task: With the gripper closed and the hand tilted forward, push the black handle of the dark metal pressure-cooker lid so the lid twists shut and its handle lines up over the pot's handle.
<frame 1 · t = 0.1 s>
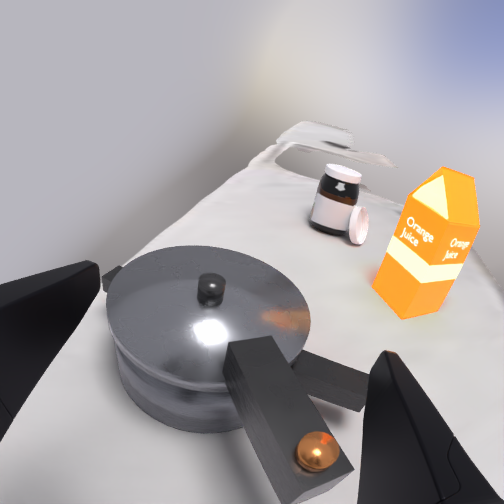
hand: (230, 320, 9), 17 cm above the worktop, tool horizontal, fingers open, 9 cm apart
orange juice: (405, 300, 43), on the worktop
spread jar: (336, 232, 60), on the worktop
cooker lid: (229, 324, 20), point 9 cm above the worktop, hinge at -45.0°
cooker pot: (201, 361, 28), on the worktop
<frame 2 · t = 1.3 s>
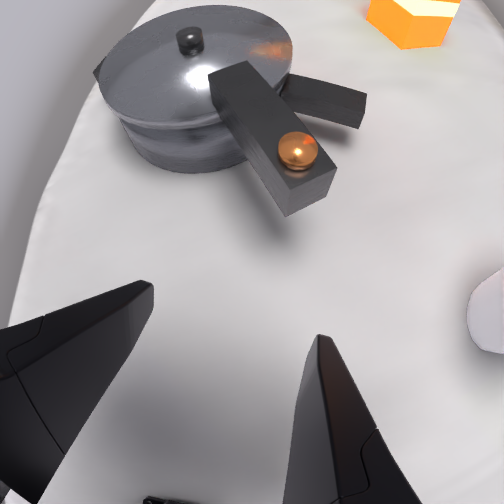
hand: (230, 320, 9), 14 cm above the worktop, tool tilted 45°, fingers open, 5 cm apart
orange juice: (403, 32, 33), on the worktop
cooker lid: (210, 63, 19), point 9 cm above the worktop, hinge at -45.0°
cooker pot: (204, 107, 28), on the worktop
foam cup: (490, 316, 22), on the worktop
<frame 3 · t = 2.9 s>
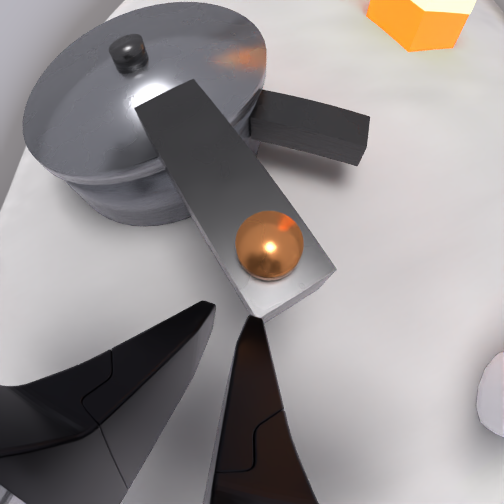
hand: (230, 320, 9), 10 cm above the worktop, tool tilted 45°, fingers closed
orange juice: (410, 31, 28), on the worktop
cooker lid: (150, 84, 13), point 9 cm above the worktop, hinge at -42.3°, touching gripper
cooker pot: (161, 134, 23), on the worktop
foam cup: (503, 390, 16), on the worktop
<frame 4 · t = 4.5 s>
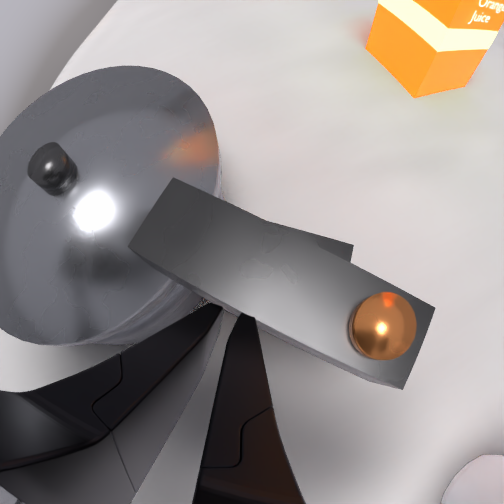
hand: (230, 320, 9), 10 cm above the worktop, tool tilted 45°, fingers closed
orange juice: (417, 67, 25), on the worktop
cooker lid: (107, 198, 11), point 9 cm above the worktop, hinge at -11.7°, touching gripper
cooker pot: (117, 231, 20), on the worktop
foam cup: (472, 490, 14), on the worktop
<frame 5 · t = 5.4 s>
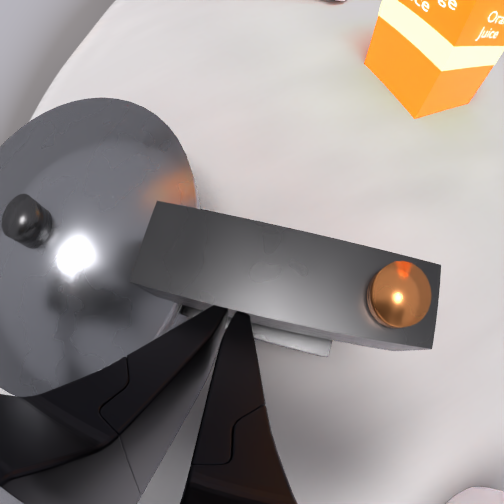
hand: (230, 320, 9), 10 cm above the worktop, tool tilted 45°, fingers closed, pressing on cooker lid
orange juice: (418, 83, 25), on the worktop
cooker lid: (91, 238, 11), point 9 cm above the worktop, hinge at 2.8°, touching gripper
cooker pot: (102, 268, 20), on the worktop
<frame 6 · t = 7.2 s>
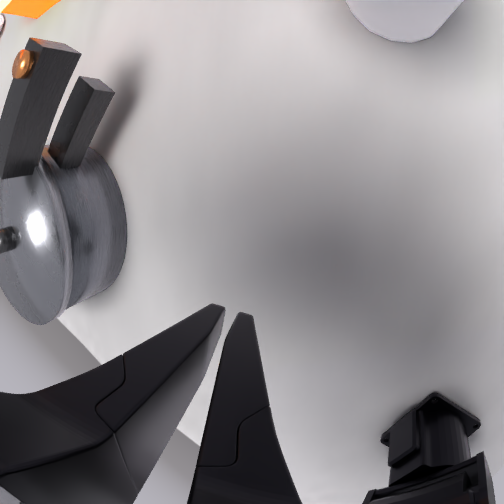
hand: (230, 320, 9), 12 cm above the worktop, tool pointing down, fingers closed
cooker lid: (7, 200, 19), point 9 cm above the worktop, hinge at 2.9°
cooker pot: (74, 220, 28), on the worktop
foam cup: (396, 3, 14), on the worktop
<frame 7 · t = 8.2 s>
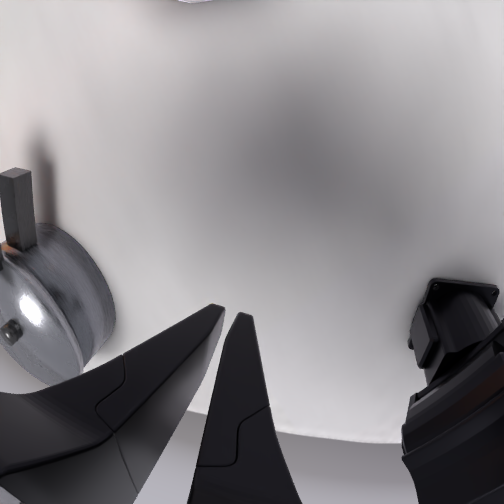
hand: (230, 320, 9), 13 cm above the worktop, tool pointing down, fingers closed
cooker pot: (60, 287, 30), on the worktop
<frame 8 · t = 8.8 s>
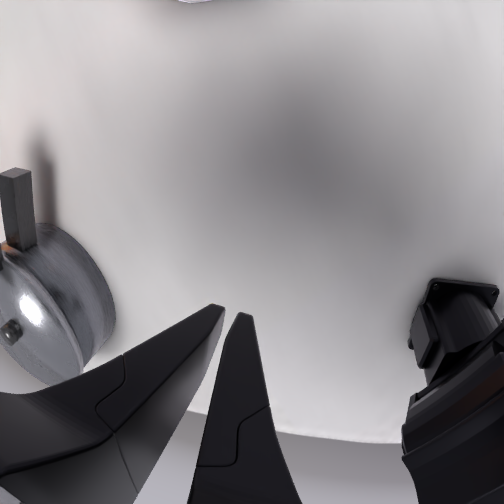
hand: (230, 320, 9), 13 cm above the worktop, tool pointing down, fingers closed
cooker pot: (60, 287, 30), on the worktop
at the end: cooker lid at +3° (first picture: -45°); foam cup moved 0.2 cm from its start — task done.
